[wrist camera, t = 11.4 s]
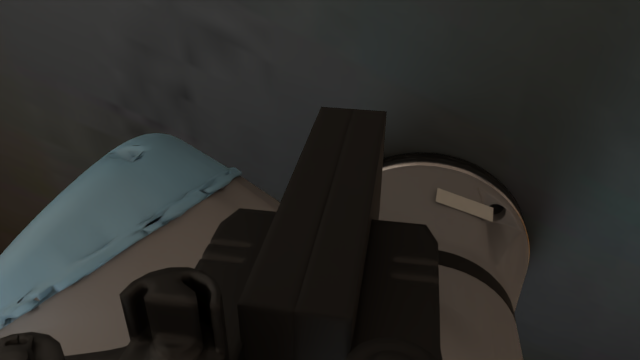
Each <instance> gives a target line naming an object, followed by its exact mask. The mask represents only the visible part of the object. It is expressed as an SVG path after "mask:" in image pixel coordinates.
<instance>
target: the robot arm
mask: <svg viewBox="0 0 640 360" xmlns="http://www.w3.org/2000/svg"><path fill="white" fill-rule="evenodd" d="M385 126H386V112H385V111H371V110H357V109H342V108H328V107H321V109H320V111H319V113H318V116H317V118H316V121H315V123H314V125H313V128H312V130H311V132H310V135H309V137H308V139H307V142H306V144H305V146H304V149H303V151H302V153H301V156H300V158H299V160H298V163H297V165H296V167H295V170H294V172H293V174H292V177H291V179H290V181H289V184H288V186H287V188H286V191H285V193H284V196H283V198H282V200H281V203H280V202H279V201H277V200H276V199H274V198H273V197H271V196H270V195H268V194H267V193H265V192H264V191H262V190H261V189H259V188H258V187H256V186H255V185H253V184H252V183H250V182H249V181H247V180H246V179H244V178H243V177H241V176H240V175H241V174H242V172H241V171H239V170H238V169H236V168H235V167H231V168H227V167H226V166H224V165H222V164H221V163H219V162H217V161H216V160H214V159H212V158H211V157H209V156H207V155H206V154H204V153H202V152H201V151H199V150H197V149H196V148H194V147H192V146H191V145H189V144H187V143H186V142H184V141H182V140H181V139H179V138H176V137H174V136H171V135H168V134H161V133H152V134H145V135H141V136H138V137H135V138H133V139H131V140H129V141H127V142H125V143H123V144H121V145H120V146H118V147H116V148H115V149H113V150H112V151H110V152H109V153H108V154H106V155H105V156H104V157H102V158H101V159H100V160H98V161H97V162H96V163H95V164H93V165H92V166H91V167H90V168H88V169H87V170H86V171H85V172H84V173H82V174H81V175H80V176H79V177H78V178H77V179H76V180H74V181H73V182H72V183H71V184H70V185H69V186H68V187H67V188H65V189H64V190H63V191H62V192H61V193H60V194H59V195H58V196H57V197H56V198H55V199H54V200H53V201H52V202H51V203H50V204H48V205H47V206H46V207H45V208H44V209H43V210H42V211H41V212H40V213H39V214H38V215H37V216H36V217H35V218H34V219H33V220H32V221H31V222H30V223H29V224H28V225H27V227H26V228H25V229H24V230H23V231H22V232H21V233H20V234H19V235H18V236H17V237H16V238H15V239H14V240H13V242H12V243H11V244H10V245H9V246H8V247H7V248H6V249H5V250H4V252H3V253H2V254H1V255H0V360H523V356H522V351H521V346H520V341H519V336H518V330H517V326H516V321H515V315H514V312H515V309H516V305H517V302H518V299H519V295H520V292H521V289H522V285H523V282H524V279H525V275H526V272H527V267H528V264H529V256H530V246H529V238H528V234H527V230H526V226H525V222H524V219H523V215H522V213H521V210H520V208H519V206H518V204H517V202H516V200H515V199H514V197H513V196H512V195H511V193H510V192H509V191H508V190H507V189H506V187H505V186H504V185H503V184H502V183H501V182H500V181H498V180H497V179H496V178H495V177H494V176H492V175H491V174H489V173H488V172H486V171H485V170H483V169H481V168H480V167H478V166H476V165H474V164H472V163H469V162H467V161H464V160H461V159H458V158H455V157H451V156H447V155H441V154H433V153H408V154H401V155H395V156H391V157H387V158H384V159H383V155H384V140H385Z"/></svg>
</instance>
